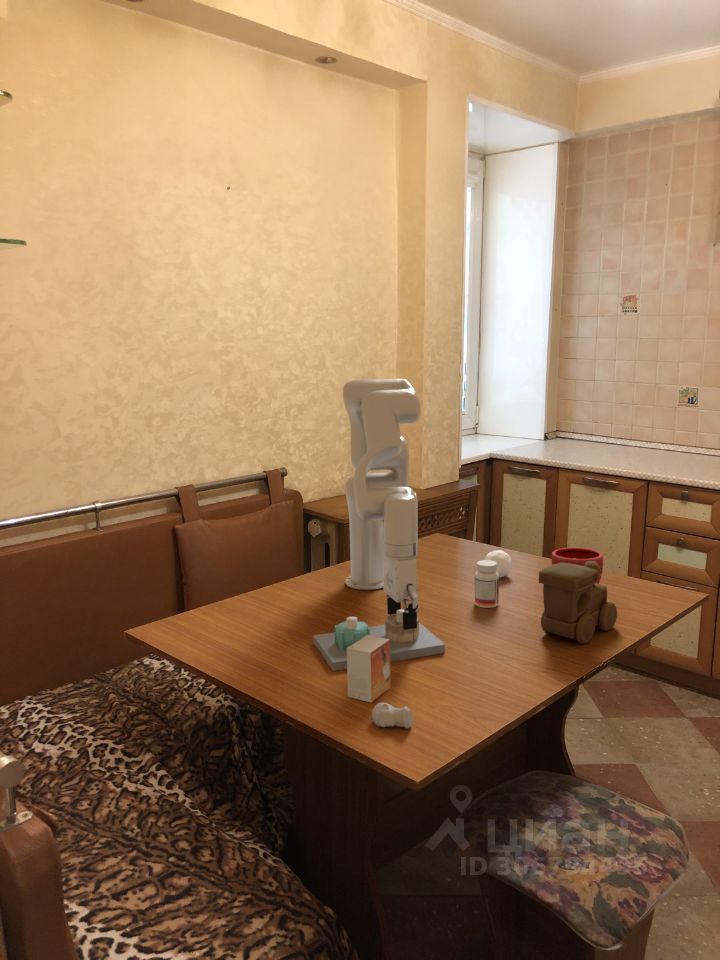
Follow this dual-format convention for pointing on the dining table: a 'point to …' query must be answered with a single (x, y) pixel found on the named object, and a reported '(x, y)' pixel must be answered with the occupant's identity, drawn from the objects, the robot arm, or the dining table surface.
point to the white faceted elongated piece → (500, 562)
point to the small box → (368, 668)
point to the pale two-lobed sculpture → (391, 715)
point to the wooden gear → (399, 630)
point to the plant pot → (578, 557)
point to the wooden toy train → (575, 601)
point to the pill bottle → (486, 584)
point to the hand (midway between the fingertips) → (401, 620)
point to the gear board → (353, 631)
